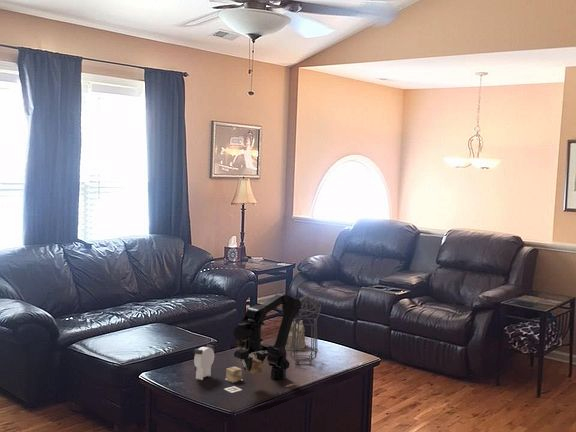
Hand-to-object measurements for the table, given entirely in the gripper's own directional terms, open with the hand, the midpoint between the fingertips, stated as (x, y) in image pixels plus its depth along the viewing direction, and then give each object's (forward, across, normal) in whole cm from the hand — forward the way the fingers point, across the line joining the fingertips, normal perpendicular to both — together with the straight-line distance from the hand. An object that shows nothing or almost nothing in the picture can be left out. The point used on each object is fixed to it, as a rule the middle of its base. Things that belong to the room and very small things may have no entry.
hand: (253, 370), depth 275 cm
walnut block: (+1, 0, 0) cm, 1 cm away
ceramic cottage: (+9, -60, -40) cm, 73 cm away
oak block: (+8, +1, -13) cm, 15 cm away
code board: (+8, +5, -6) cm, 12 cm away
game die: (+9, -16, -23) cm, 29 cm away
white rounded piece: (+9, +10, -24) cm, 27 cm away
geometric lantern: (+9, -44, -13) cm, 47 cm away
